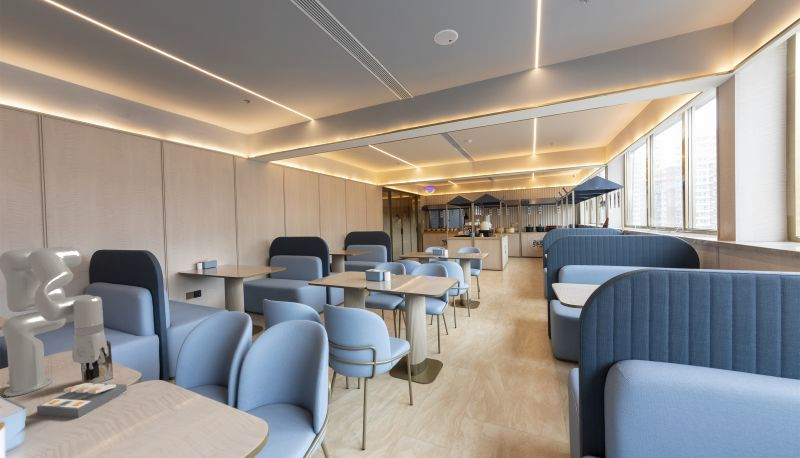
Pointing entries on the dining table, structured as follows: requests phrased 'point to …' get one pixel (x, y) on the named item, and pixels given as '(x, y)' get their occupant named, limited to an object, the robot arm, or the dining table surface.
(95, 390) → the rocker
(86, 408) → the switch unit
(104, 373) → the coffee box
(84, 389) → the rocker
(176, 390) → the dining table surface
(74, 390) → the rocker
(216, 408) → the dining table surface
